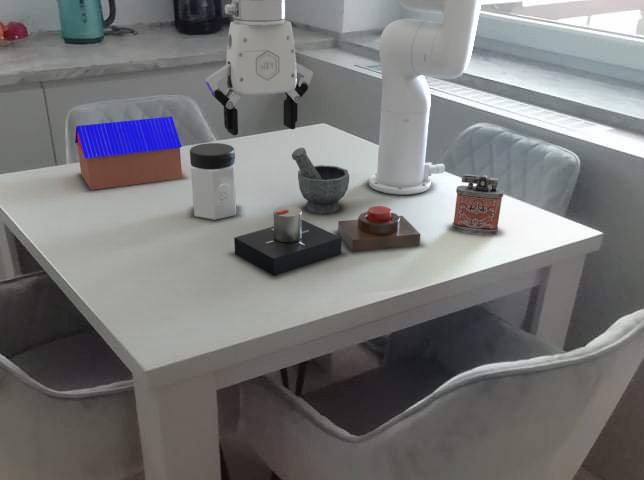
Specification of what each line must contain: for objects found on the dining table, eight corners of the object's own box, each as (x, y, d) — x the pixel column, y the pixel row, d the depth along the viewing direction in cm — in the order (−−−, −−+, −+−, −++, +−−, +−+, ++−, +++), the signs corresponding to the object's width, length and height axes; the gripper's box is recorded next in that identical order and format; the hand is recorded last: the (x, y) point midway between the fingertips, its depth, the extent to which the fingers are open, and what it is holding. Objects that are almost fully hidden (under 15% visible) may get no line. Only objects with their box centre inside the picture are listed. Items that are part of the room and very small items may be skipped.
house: (184, 178, 161) (179, 122, 155) (89, 190, 154) (81, 133, 148) (169, 163, 170) (164, 110, 164) (79, 174, 163) (71, 119, 157)
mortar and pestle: (336, 197, 150) (337, 136, 144) (356, 212, 143) (359, 149, 136) (283, 204, 147) (282, 142, 140) (301, 220, 139) (301, 156, 133)
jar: (204, 223, 138) (200, 158, 132) (184, 210, 144) (179, 147, 138) (246, 213, 142) (244, 150, 136) (225, 201, 148) (222, 140, 142)
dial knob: (290, 229, 127) (290, 202, 124) (307, 238, 124) (307, 210, 121) (268, 236, 125) (267, 208, 122) (285, 244, 121) (285, 216, 119)
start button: (386, 214, 131) (386, 205, 131) (393, 222, 128) (394, 213, 127) (364, 216, 131) (364, 206, 130) (371, 224, 127) (372, 214, 126)
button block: (401, 227, 136) (403, 205, 134) (419, 245, 129) (421, 223, 127) (337, 232, 134) (338, 211, 132) (352, 252, 126) (353, 229, 124)
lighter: (498, 229, 135) (506, 174, 130) (496, 236, 132) (505, 180, 127) (453, 224, 137) (459, 170, 132) (450, 230, 135) (457, 175, 129)
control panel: (300, 234, 133) (300, 217, 131) (341, 254, 126) (341, 236, 124) (234, 254, 126) (233, 236, 124) (273, 276, 118) (273, 257, 117)
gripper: (211, 17, 104) (217, 141, 113) (324, 12, 110) (321, 130, 119) (195, 11, 110) (201, 130, 119) (302, 6, 116) (301, 120, 125)
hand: (261, 130), depth 119 cm, fingers open, 9 cm apart
